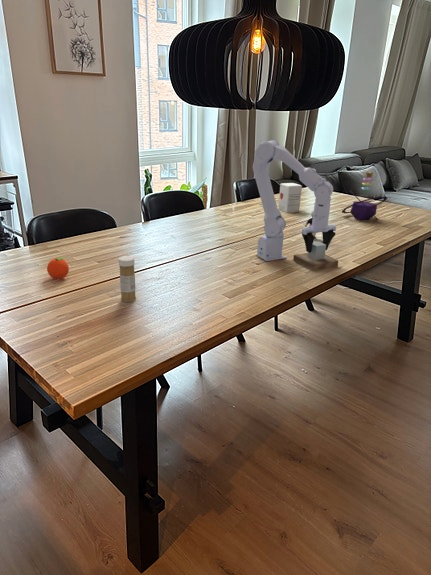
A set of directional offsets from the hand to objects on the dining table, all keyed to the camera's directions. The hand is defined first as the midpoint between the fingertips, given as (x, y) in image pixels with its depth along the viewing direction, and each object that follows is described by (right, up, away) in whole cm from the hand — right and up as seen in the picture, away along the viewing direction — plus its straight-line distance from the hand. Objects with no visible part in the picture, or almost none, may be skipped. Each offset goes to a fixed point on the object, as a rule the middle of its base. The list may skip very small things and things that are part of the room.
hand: (316, 250), depth 169 cm
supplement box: (+3, +30, +85) cm, 90 cm away
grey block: (0, -3, +1) cm, 3 cm away
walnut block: (0, -5, +2) cm, 6 cm away
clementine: (-91, -11, -19) cm, 94 cm away
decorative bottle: (+40, +22, +70) cm, 84 cm away
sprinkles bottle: (-65, -18, -34) cm, 75 cm away
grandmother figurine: (+6, +9, +35) cm, 36 cm away
